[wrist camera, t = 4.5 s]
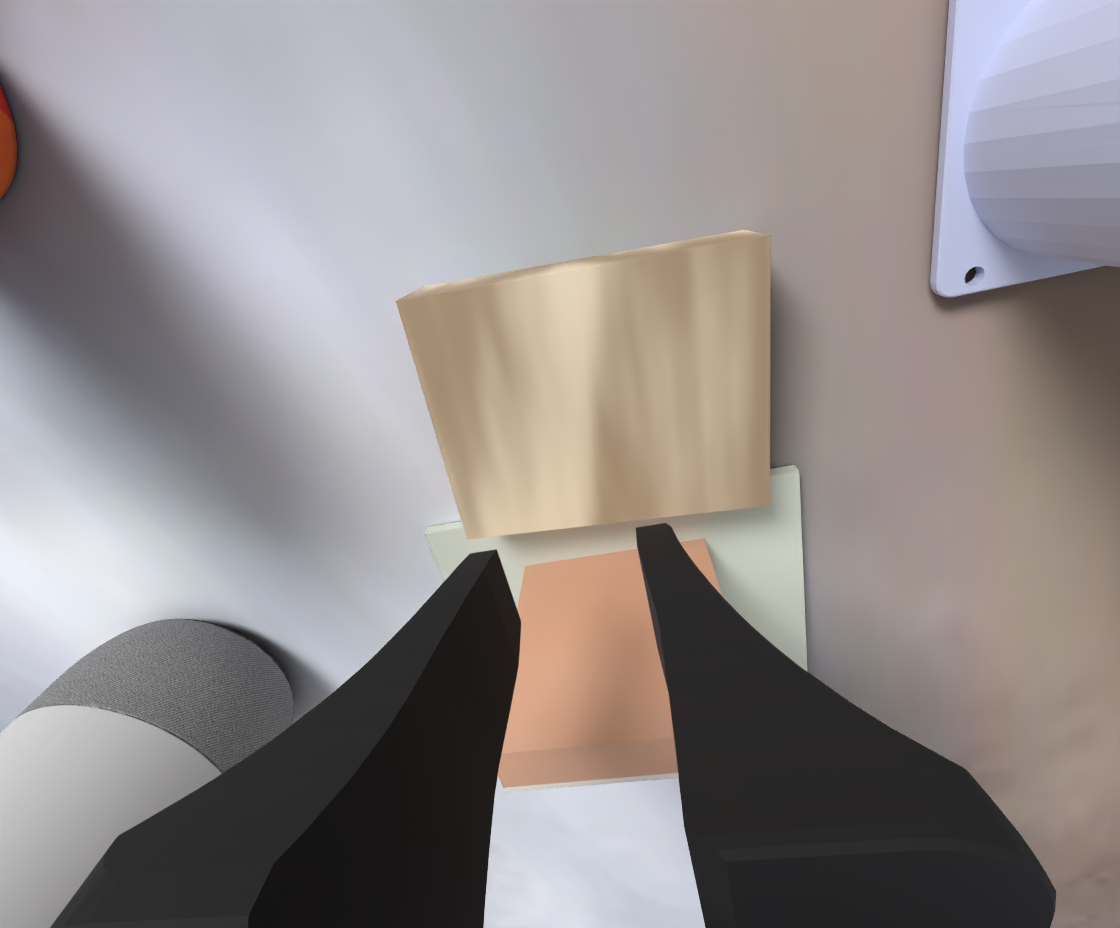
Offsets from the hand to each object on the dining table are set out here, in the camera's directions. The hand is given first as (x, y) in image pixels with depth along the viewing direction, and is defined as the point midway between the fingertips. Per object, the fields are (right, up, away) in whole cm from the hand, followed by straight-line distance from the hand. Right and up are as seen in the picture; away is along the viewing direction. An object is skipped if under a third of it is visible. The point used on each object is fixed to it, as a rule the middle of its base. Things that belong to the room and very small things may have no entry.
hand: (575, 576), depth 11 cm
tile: (+2, -2, +10) cm, 10 cm away
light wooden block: (-4, +4, +6) cm, 9 cm away
